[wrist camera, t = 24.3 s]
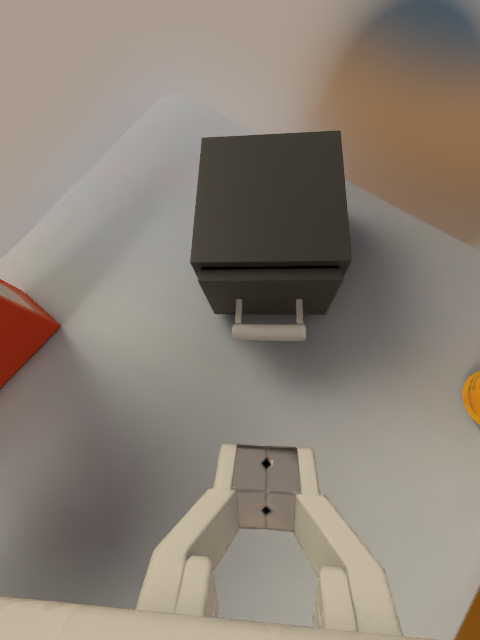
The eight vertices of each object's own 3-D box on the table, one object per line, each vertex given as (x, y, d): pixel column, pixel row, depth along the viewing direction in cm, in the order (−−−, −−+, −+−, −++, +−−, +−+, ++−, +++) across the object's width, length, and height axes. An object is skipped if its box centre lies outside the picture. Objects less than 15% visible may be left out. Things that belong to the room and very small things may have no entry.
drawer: (327, 351, 34) (346, 327, 25) (212, 349, 35) (194, 326, 26) (320, 215, 39) (333, 158, 31) (220, 218, 40) (207, 164, 32)
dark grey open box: (328, 306, 36) (351, 260, 26) (211, 306, 38) (190, 262, 27) (322, 203, 41) (340, 130, 30) (218, 206, 42) (201, 137, 32)
